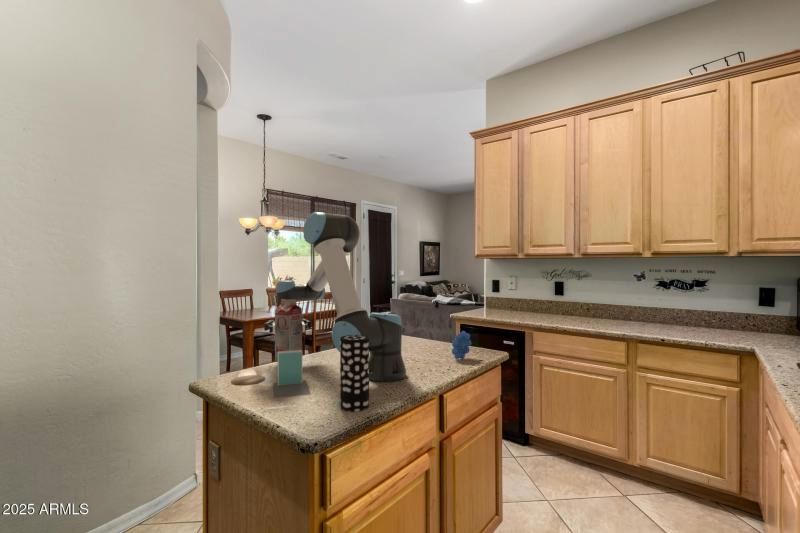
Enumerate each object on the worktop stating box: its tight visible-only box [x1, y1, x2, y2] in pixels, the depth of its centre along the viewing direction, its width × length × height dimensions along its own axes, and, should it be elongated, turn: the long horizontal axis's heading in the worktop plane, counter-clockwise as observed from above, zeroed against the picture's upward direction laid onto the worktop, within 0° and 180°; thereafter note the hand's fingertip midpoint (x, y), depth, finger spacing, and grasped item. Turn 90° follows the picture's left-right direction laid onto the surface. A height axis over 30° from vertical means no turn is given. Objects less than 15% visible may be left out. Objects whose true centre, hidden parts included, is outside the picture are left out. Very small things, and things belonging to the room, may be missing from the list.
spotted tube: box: [339, 335, 370, 413], centre depth 111 cm, size 8×8×20 cm
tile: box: [277, 349, 303, 386], centre depth 130 cm, size 2×8×11 cm, turn 109°
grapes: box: [451, 330, 472, 360], centre depth 168 cm, size 12×7×12 cm, turn 128°
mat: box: [272, 379, 311, 399], centre depth 125 cm, size 15×11×1 cm
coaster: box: [230, 374, 266, 386], centre depth 134 cm, size 11×11×1 cm
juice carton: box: [274, 299, 303, 363], centre depth 139 cm, size 7×7×22 cm
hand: (289, 329), depth 134 cm, fingers closed on juice carton, 9 cm apart
